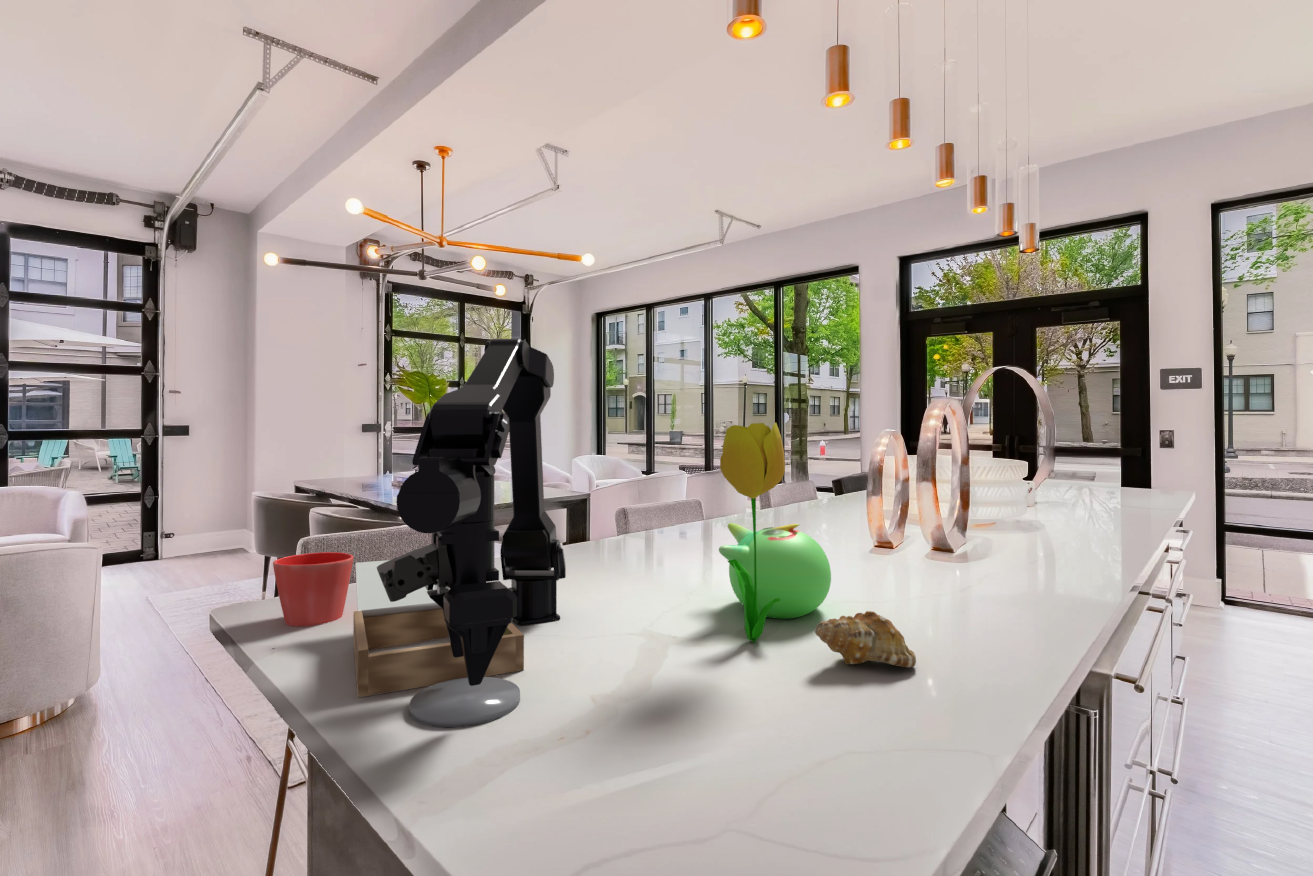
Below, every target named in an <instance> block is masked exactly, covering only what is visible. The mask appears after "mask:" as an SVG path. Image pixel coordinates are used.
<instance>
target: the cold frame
mask: <svg viewBox="0 0 1313 876" xmlns="http://www.w3.org/2000/svg"><path fill="white" fill-rule="evenodd" d="M444 619H445V618H444V614H443V610H442V609H436V610H427V611H418V612H409V613H400V614H392V615H383V616H374V617H365V618H363V614H362V611H357V610H356V611H353V628H352V629H353V631H352V632H353V634H352V635H353V640H352V641H353V659H354V660H353V661H354V670H355V680H356V690H357V698H364V697H369V696H374V695H376V696H377V695H381V694H387V693H394V692H399V691H400V692H401V691H406V690H412V689H418V688H419V689H420V688H423V687H429V686H432V685H435V684H437V683H441V682H444V681H449V680H453V679H459V678H468V677H467V672H466V666H465V660H464V656H462V657H457V658H455V657H453V654H452V649H451V645H450V642H445V643H439V644H431V645H430V644H429V645H423V646H418V647H408V648H402V649H401V648H400V649H395V650H394V649H393V650H389V651H381V652H373V653H369V650H375V649H381V648H387V647H395V646H401V645H408V644H414V643H420V642H426V641H427V642H428V641H433V640H439V639H445V638H449V636H448V632H447V627H446V623H445V620H444ZM524 639H525V635H524V634H523V632H522V631H520V630H519V628H518V627H516V626H515V624H513V623H510V624H509V625H508V627H507V629H506V631H505V633H504V635H503V637H502V639H501V641H500V643H499V645H498V647H497V649H496V651H495V653H494V655H493V658H492V660H491V662H490V664H489V667H488V669H487V671H486V673H485V676H484V677H491V676H497V675H502V674H508V673H515V672H521V671H525V640H524Z"/></svg>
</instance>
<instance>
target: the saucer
mask: <svg viewBox="0 0 1313 876" xmlns="http://www.w3.org/2000/svg"><path fill="white" fill-rule="evenodd" d="M520 702H521V690H520V687H519V686H518V685H517V684H515V683H514V682H512V681H511V680H507V679H503V678H501V677H500V678H499V677H494V676H493V677H491V676H485V677H484V678H483V680H482V682H481V684H479V685H474V686H470V685H469V682H468V678H459V679H453V680H449V681H444V682H441V683H437V684H435V685H431V686H426V688H423V689H421V690H420V691H418V692H416V693H415V694H414V695H413V696H412V698H411V699H409V715H410V717H411V718H412V720H414V721H416V722H417V723H420V724H423V725H425V726H430V727H438V728H463V727H469V726H475V725H480V724H485V723H488V722H489V723H490V722H491V721H494V720H497V719H499V718H502V717H505V716H506V715H508V714H510V713H511V712H513V711H514V710H515V709H517V707H518V706H519V704H520Z"/></svg>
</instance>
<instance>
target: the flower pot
mask: <svg viewBox="0 0 1313 876" xmlns="http://www.w3.org/2000/svg"><path fill="white" fill-rule="evenodd" d="M353 562H354V556H353V554H350V553H346V552H340V551H337V552H335V551H334V552H333V551H325V552H323V551H322V552H309V553H308V552H307V553H301V554H293V555H289V556H284V557H280V558H277V559H276V560H273V562H272V567H273V572H274V578H275V582H276V587H277V592H278V593H277V594H278V597H279V602H280V606H281V610H282V615H283V620H284V622H285V625H287V626H289V627H311V626H312V627H314V626H320V625H324V623H325V624H329V623H332V622H334V621H337V620H339V619H340V618H342V617H343V615H344V612H345V606H346V601H347V600H346V599H347V595H348V590H349V586H350V585H349V584H350V581H351V580H350V579H351V574H352V568H353V564H354V563H353ZM328 622H329V623H328ZM313 625H314V626H313Z"/></svg>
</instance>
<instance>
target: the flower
mask: <svg viewBox="0 0 1313 876" xmlns="http://www.w3.org/2000/svg"><path fill="white" fill-rule="evenodd" d="M722 443H723V444H722V454H721V456H720V459H719V461H720V463H719V464H720V465H719V469H720V472H721V474H722V475H723V476H722V477H724V478H725V479H726V481H727V482H728V483H729V484H730V485H731V486H732V487H733V488H734V489H735V490H736V492H737V493H738V494H741V495H742V496H745V497H748V498H750V501H751V514H752V531H753V535H754V585H753V582H752V579H751V576H750V575H749V574H748V572H747V571H746V570H745V569H744V567H743V566H742V565H741V564H740V563H739V562H738V561H737V560H736V559H735V560H727V562H728V564H731V565H732V566H733V567H734V568H735V570H736V573H737V576H738V582H739V586H740V589H741V592H742V596H743V600H744V605H743V607H744V608H743V609H744V632H745V634H746V637H747V638H746V639H747V640H748V641H751V642H753V644H754V643H756V642H757V640H758V639H760V638H761V636H762V634H763V631H764V628H765V624H766V619H767V618H768V617H767V614H768V612H769V610H770V608H771V607H772V606H773V603H775V602H778V601H780V599H778V598H777V599H776V598H775V599H774V600H772V601H771V602H770V603H768V604H767V605H766V606H764V608H763V609H762V611H761V613H760V612H759V609H758V605H757V572H756V532H757V518H756V517H757V511H756V510H757V509H756V508H757V505H756V504H757V501H756V500H757V498H758V497H759V496H761V495H763V494H765V493H766V492H769V491H771V490H772V489H774V488H776V486H777V485H778V484H780V482H782V481H783V480H782V479H783V477H784V475H785V472H786V471H785V468H786V459H785V449H784V444H783V439H782V435H781V433H780V429H779V427H778V424H777V422H774V424H772V427H769V425H766V424H765V423H764V422H757V423H750V424H749V425H748V426H747V427H746V426H743V425H736V424H733V425H731V426H729V427H727V428H726V432H725V434H724V439H723V442H722Z"/></svg>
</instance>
